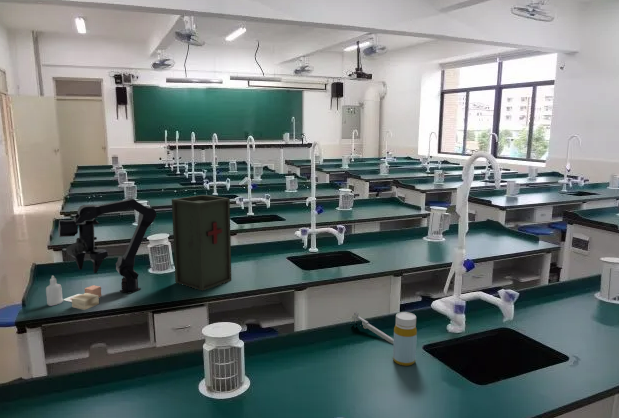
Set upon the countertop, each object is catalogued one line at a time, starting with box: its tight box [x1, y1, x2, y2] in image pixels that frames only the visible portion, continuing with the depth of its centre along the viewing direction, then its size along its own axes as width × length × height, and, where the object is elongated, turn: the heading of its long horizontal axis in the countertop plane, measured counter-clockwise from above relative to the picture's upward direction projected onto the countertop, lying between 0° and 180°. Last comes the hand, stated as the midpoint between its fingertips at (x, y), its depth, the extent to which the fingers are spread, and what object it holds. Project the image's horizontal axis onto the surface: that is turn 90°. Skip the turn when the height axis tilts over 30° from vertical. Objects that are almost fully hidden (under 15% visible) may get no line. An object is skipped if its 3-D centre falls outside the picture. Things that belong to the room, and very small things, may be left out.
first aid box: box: [171, 194, 232, 292], centre depth 214 cm, size 18×18×40 cm
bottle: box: [392, 311, 418, 367], centre depth 143 cm, size 7×7×15 cm
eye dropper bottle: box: [45, 275, 64, 307], centre depth 188 cm, size 4×6×12 cm
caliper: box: [350, 311, 394, 345], centre depth 162 cm, size 20×1×6 cm, turn 43°
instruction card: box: [63, 293, 83, 303], centre depth 196 cm, size 8×6×1 cm
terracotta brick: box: [84, 284, 102, 298], centre depth 196 cm, size 4×4×4 cm
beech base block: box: [71, 292, 100, 311], centre depth 187 cm, size 7×7×4 cm
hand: (87, 271), depth 194 cm, fingers open, 9 cm apart
